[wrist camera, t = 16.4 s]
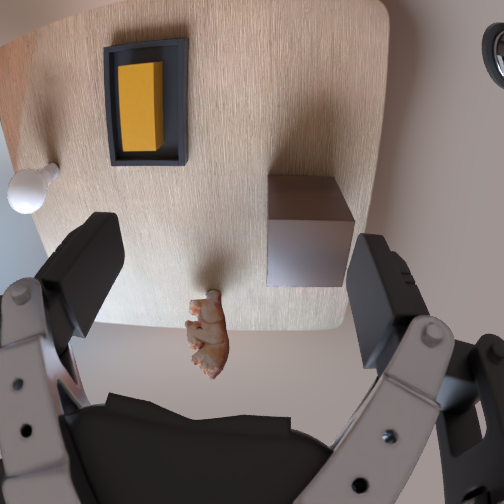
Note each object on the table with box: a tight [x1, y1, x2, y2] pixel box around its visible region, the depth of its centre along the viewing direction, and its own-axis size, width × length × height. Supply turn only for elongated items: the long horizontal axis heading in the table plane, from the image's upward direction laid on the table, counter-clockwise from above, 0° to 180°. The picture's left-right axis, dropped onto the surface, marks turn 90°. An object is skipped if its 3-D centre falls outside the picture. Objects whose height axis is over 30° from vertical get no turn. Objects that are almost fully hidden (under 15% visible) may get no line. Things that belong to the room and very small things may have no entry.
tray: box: [104, 38, 189, 166], centre depth 34 cm, size 11×17×2 cm, turn 177°
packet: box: [118, 61, 164, 151], centre depth 33 cm, size 11×4×4 cm, turn 177°
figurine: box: [185, 290, 229, 379], centre depth 49 cm, size 6×8×15 cm
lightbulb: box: [7, 163, 59, 214], centre depth 36 cm, size 6×6×11 cm
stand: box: [267, 175, 355, 287], centre depth 38 cm, size 9×9×12 cm
